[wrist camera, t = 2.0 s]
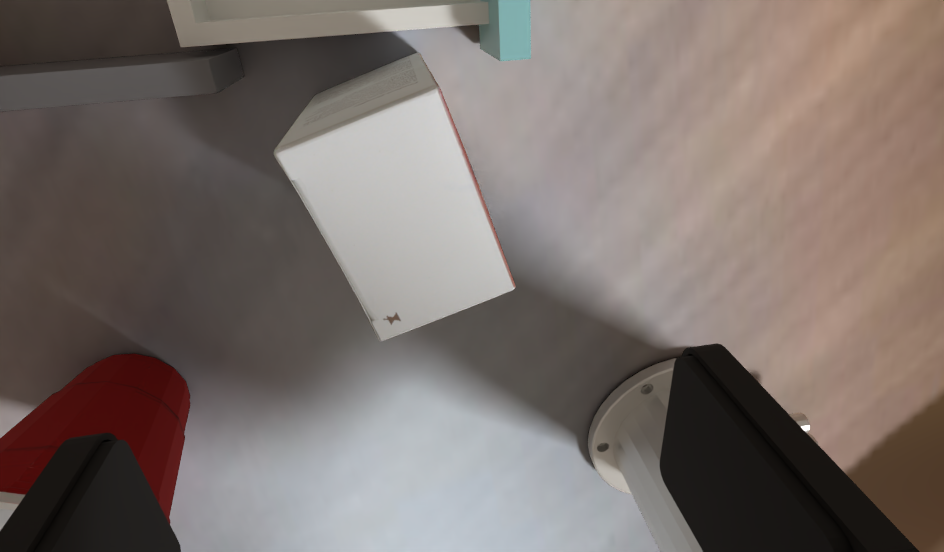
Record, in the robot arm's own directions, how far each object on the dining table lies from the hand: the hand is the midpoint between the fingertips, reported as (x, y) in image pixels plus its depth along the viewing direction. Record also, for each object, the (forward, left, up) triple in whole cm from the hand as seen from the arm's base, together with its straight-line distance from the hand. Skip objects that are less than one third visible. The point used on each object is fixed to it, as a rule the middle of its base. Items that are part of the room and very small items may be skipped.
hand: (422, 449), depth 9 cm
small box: (0, 0, -20) cm, 21 cm away
